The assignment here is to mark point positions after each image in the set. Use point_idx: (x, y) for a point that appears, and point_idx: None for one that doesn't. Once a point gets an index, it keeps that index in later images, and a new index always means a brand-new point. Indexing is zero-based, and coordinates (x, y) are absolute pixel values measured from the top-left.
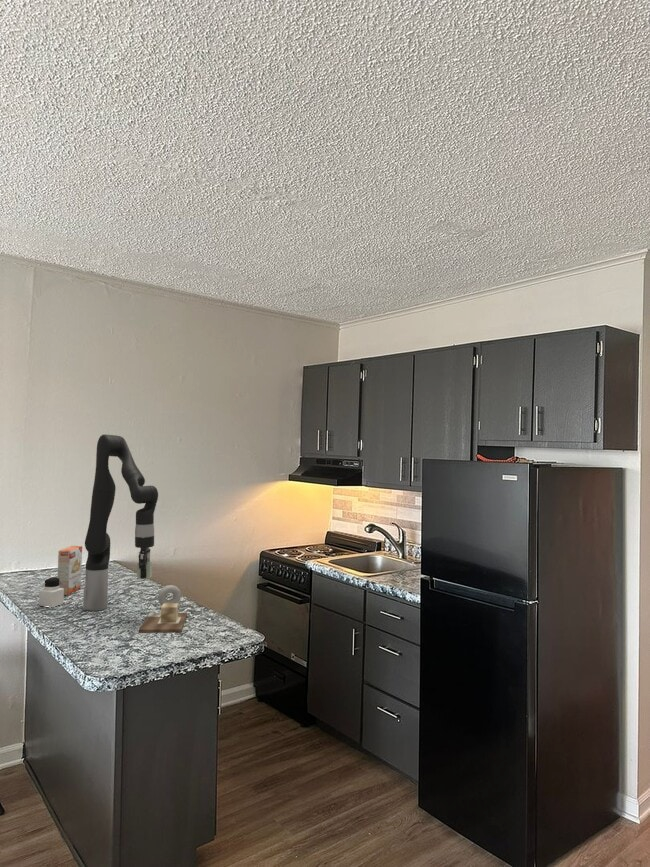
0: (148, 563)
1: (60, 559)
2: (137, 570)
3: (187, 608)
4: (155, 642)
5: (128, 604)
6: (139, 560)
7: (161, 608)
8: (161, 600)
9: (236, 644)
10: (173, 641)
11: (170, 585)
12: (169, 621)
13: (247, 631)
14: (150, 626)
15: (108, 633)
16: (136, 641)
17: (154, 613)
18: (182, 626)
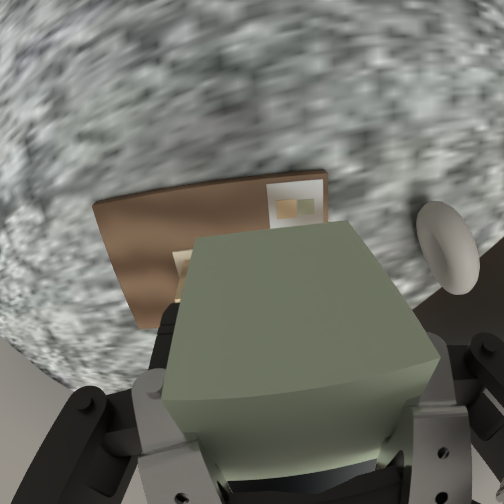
0: (257, 472)
1: None
2: (181, 312)
3: (404, 284)
4: (46, 276)
5: (471, 68)
6: (24, 493)
7: (175, 298)
8: (425, 218)
9: None
10: (70, 314)
11: (469, 279)
12: None
13: None
14: (136, 235)
15: (70, 94)
16: (32, 224)
17: (318, 202)
18: None
